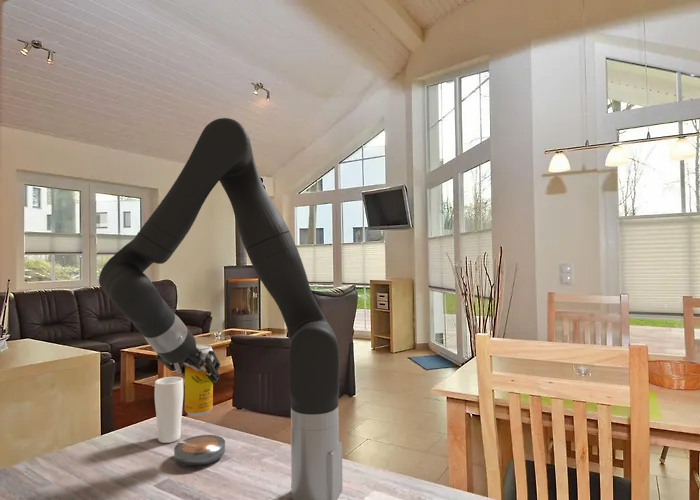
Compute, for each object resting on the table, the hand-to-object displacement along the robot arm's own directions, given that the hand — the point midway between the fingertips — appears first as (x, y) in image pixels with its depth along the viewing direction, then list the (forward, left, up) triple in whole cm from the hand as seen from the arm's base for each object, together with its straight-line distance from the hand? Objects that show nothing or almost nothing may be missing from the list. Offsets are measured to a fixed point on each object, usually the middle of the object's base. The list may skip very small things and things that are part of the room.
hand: (203, 378), depth 101 cm
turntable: (0, +2, -18) cm, 18 cm away
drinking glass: (+14, -5, -18) cm, 23 cm away
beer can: (0, +2, -7) cm, 8 cm away
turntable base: (0, +2, -18) cm, 18 cm away
